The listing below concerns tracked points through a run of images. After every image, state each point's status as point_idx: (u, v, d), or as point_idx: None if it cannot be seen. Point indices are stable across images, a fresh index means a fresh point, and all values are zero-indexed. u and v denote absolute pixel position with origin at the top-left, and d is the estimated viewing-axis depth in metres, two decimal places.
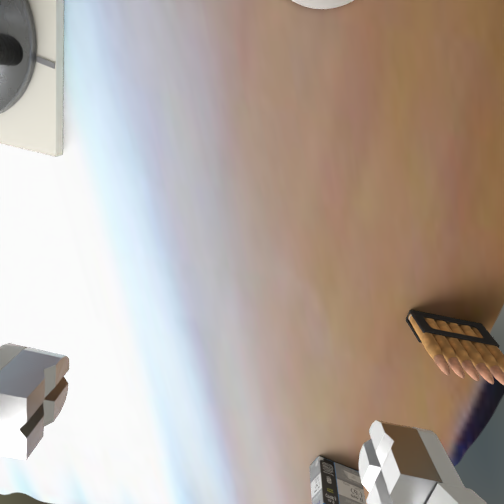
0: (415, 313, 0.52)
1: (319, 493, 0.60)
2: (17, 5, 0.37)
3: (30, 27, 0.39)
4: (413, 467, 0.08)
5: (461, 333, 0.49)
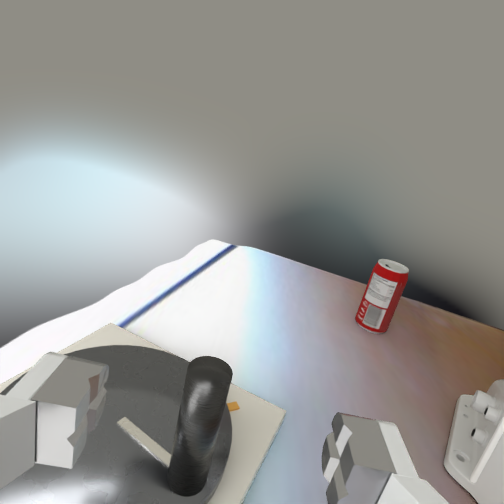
0: None
1: None
2: (226, 443, 0.31)
3: (224, 469, 0.29)
4: (368, 458, 0.08)
5: None
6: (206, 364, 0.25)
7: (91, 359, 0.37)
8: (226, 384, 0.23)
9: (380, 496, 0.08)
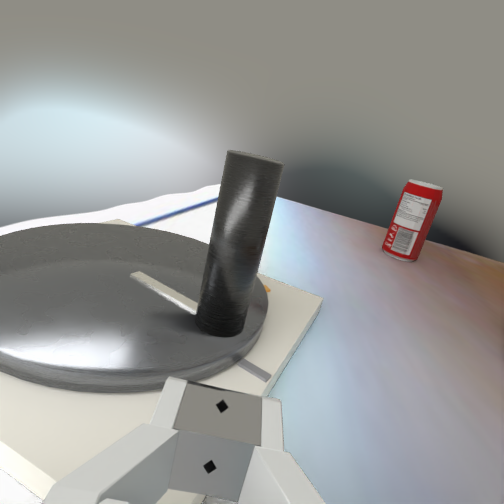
0: None
1: None
2: (262, 303, 0.26)
3: (262, 326, 0.24)
4: (236, 431, 0.08)
5: None
6: (250, 154, 0.19)
7: (97, 230, 0.31)
8: (279, 165, 0.18)
9: (247, 470, 0.08)
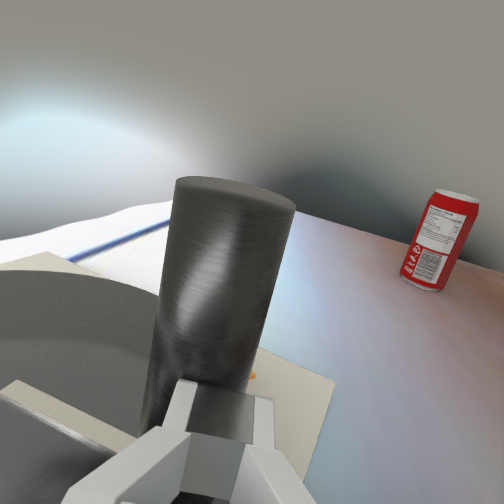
0: None
1: None
2: None
3: None
4: (227, 429, 0.08)
5: None
6: (221, 185, 0.09)
7: None
8: (292, 211, 0.09)
9: (239, 468, 0.08)
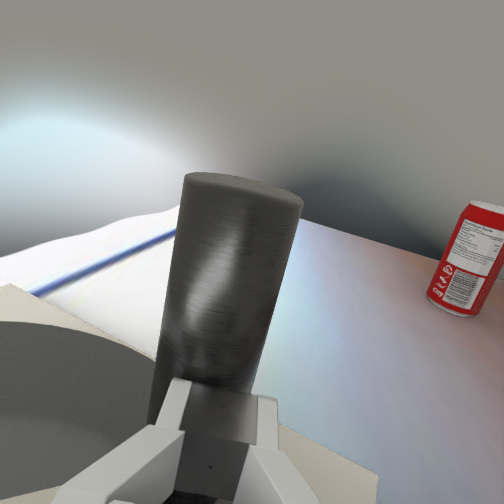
0: None
1: None
2: None
3: None
4: (231, 430, 0.08)
5: None
6: (219, 182, 0.09)
7: None
8: (297, 197, 0.10)
9: (243, 469, 0.08)
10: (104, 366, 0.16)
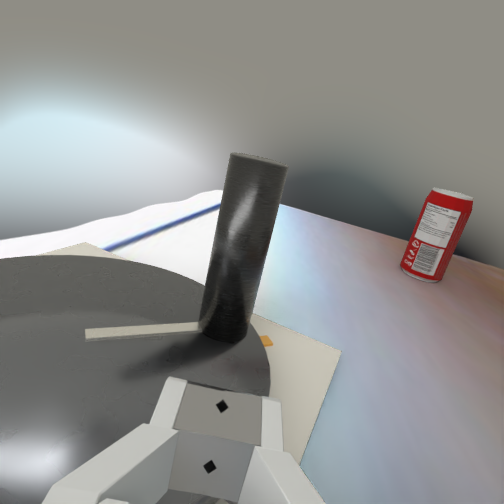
0: None
1: None
2: None
3: None
4: (236, 431, 0.08)
5: None
6: (247, 156, 0.18)
7: None
8: (286, 165, 0.19)
9: (247, 470, 0.08)
10: (166, 281, 0.26)
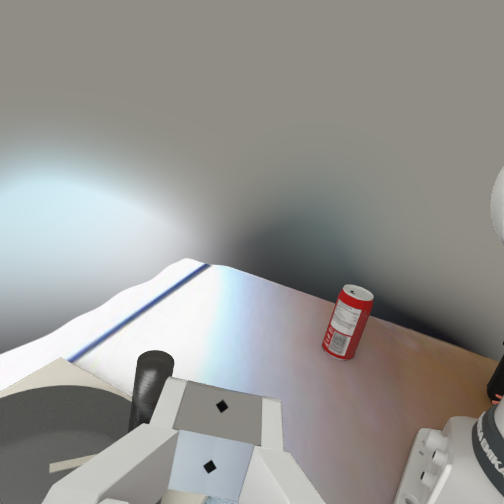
0: None
1: None
2: None
3: None
4: (235, 431, 0.08)
5: None
6: (148, 359, 0.30)
7: None
8: None
9: (247, 470, 0.08)
10: (111, 406, 0.37)
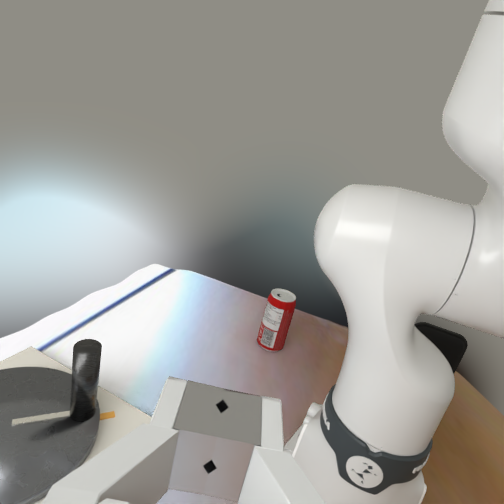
0: None
1: None
2: None
3: None
4: (235, 431, 0.08)
5: None
6: (82, 345, 0.43)
7: None
8: (101, 346, 0.43)
9: (247, 471, 0.08)
10: (64, 382, 0.50)
